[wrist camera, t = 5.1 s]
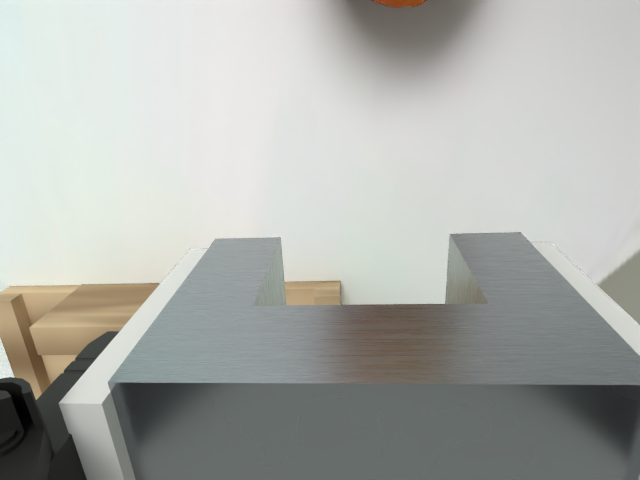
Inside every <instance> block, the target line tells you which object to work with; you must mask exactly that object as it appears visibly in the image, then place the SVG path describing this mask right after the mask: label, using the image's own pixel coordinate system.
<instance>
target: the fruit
mask: <svg viewBox="0 0 640 480" xmlns="http://www.w3.org/2000/svg"><path fill="white" fill-rule="evenodd" d="M372 1H375V2H378V3H380V4H383V5H387V6H391V7H396V8H398V7H406V6H418V5H421V4H422V3H424V2H425V1H427V0H372Z"/></svg>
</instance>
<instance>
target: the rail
mask: <svg viewBox="0 0 640 480" xmlns="http://www.w3.org/2000/svg"><path fill="white" fill-rule="evenodd" d="M159 284H160V283H149V284H89V285H70V286H10V287H9V288H7V289H5V290H4V291H2V292H1V293H0V337H1V340H2V343H3V346H4V349H5V351H6V354H7V357H8V360H9V362H10V365H11V368H12V371H13V374H14V376H15V378H22V379H24V380H26V381H27V382H28V383H30V385H31V388H32V391H33V393H34V396H35V399H36V400H37V399H38V398H39V397H40V396H41V394H42V393H43V392H44V391H45V390H46V389H47V388H48V387H49V386H50V385H51V384H52V383H53V381H54V380H55V379H56V378H57V377H58V376H59V375H60V374H61V373H64V369H65V368H66V367H67V366H68V365H69V364H70V363H71V362H72V361H75V358H76V356H77V355H78V354H79V353H80V352H81V351H82V350H83V349H84V348H85V347H86V346H87V345H88V344H89V343H90V342H92V341H93V340H95V339H96V338H98V337H100V336H101V335H103V334H104V333H106V332H107V331H120V330H121V329H122V328H123V327H124V326H125V324H126V323H127V322H128V321H129V320H130V319H131V317H132V316H133V315H134V314H135V313H136V312H137V310H138V309H139V308H140V307H141V306H142V304H143V303H144V302H145V301H146V300H147V299H148V297H149V296H150V295H151V294H152V293H153V292H154V290H155V289H156V288H157V287H158V286H159ZM285 294H286V305H341V292H340V281H312V282H285Z"/></svg>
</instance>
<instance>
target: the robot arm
mask: <svg viewBox="0 0 640 480" xmlns="http://www.w3.org/2000/svg"><path fill="white" fill-rule="evenodd" d="M530 243H531V244H532V245H533V246H534V247H535V248H536V249H537V250H538V251H539V252H540V253H541V254H542V255H543V256H544V257H545V258H546V259H547V260H548V261H549V262H550V264H551V265H552V266H553V267H554V268H555V269H556V270H557V271H558V272H559V273H560V274H561V275H562V276H563V277H564V278H565V279H566V280H567V281H568V282H569V283H570V284H571V285H572V286H573V287H574V288H575V289H576V290H577V292H578V293H579V294H580V295H581V296H582V297H583V298H584V299H585V300H586V301H587V302H588V303H589V304H590V305H591V306H592V307H593V308H594V309H595V310H596V311H597V312H598V313H599V314H600V315H601V316H602V317H603V318H604V320H605V321H606V322H607V323H608V324H609V325H610V326H611V327H612V328H613V329H614V330H615V331H616V332H617V333H618V334H619V335H620V336H621V337H622V338H623V339H624V340H625V341H626V342H627V343H628V344H629V345H630V346H631V347H632V349H633V350H634V351H635V352H636V353H637V354H638V355H639V356H640V325H639V324H638V323H637V322H636V321H635V320H634V319H633V318H632V317H631V316H629V315H628V314H627V313H626V312H625V311H624V310H623V309H622V308H621V307H620V306H619V305H618V304H617V303H615V302H614V301H613V300H612V299H611V298H610V297H609V296H608V295H607V294H606V293H605V292H604V291H603V290H602V289H601V288H599V287H598V286H597V285H596V284H595V283H594V282H593V281H592V280H591V279H590V278H589V277H588V276H587V275H586V274H584V273H583V272H582V271H581V270H580V269H579V268H578V267H577V266H576V265H575V264H574V263H573V262H572V261H571V260H569V259H568V258H567V257H566V256H565V255H564V254H563V253H562V252H561V251H560V250H559V249H558V248H557V247H556V246H554V245H553V244H552V243H551V242H530ZM207 250H208V248H206V249H189V250H188V252H187V253H186V254H185V255H184V256H183V257H182V259H181V260H180V261H179V262H178V263H177V264H176V266H175V267H174V268H173V269H172V270H171V272H170V273H169V274H168V275H167V276H166V277H165V279H164V280H163V281H162V282H161V283H160V284H159V286H158V287H157V288H156V289H155V290H154V292H153V293H152V294H151V295H150V296H149V297H148V299H147V300H146V301H145V302H144V303H143V304H142V306H141V307H140V308H139V309H138V310H137V312H136V313H135V314H134V315H133V316H132V317H131V319H130V320H129V321H128V322H127V323H126V324H125V326H124V327H123V328H122V329H121V330H120V331H107V332H106V333H104V334H103V335H101V336H100V337H98V338H96V339H95V340H93V341H92V342H90V343H89V344H88V345H87V346H86V347H85V348H84V349H83V350H82V351H81V352H80V353H79V354H78V355H77V356H76V358H75V361H72V362H71V363H70V364H69V365H68V366H67V367H66V368H65V369H64V373H61V374H60V375H59V376H58V377H57V378H56V379H55V380H54V381H53V383H52V384H51V385H50V386H49V387H48V388H47V389H46V390H45V391H44V392H43V393H42V394H41V396H40V397H39V398H38V399H37V400H36V399H35V396H34V393H33V391H32V388H31V385H30V383H28V382H27V381H26V380H24V379H22V378H12V377H9V378H3V379H0V480H136V479H135V476H134V472H133V469H132V465H131V462H130V458H129V455H128V451H127V448H126V444H125V440H124V437H123V433H122V430H121V426H120V423H119V419H118V416H117V412H116V409H115V405H114V402H113V398H112V394H111V391H110V389H109V386H108V381H109V380H110V378H111V377H112V376H113V375H114V373H115V372H116V371H117V369H118V368H119V367H120V365H121V364H122V363H123V361H124V360H125V359H126V357H127V356H128V355H129V353H130V352H131V351H132V349H133V348H134V347H135V345H136V344H137V343H138V341H139V340H140V339H141V337H142V336H143V335H144V333H145V332H146V331H147V329H148V328H149V327H150V325H151V324H152V323H153V321H154V320H155V319H156V317H157V316H158V315H159V313H160V312H161V311H162V309H163V308H164V307H165V305H166V304H167V303H168V301H169V300H170V299H171V297H172V296H173V295H174V293H175V292H176V291H177V289H178V288H179V287H180V285H181V284H182V283H183V282H184V280H185V279H186V278H187V276H188V275H189V274H190V272H191V271H192V270H193V268H194V267H195V266H196V264H197V263H198V262H199V260H200V259H201V258H202V256H203V255H204V254H205V252H206V251H207ZM638 480H640V475H639V478H638Z"/></svg>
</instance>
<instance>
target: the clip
mask: <svg viewBox="0 0 640 480" xmlns="http://www.w3.org/2000/svg"><path fill="white" fill-rule="evenodd" d="M108 386H109V389H110V391H111V394H112V398H113V402H114V405H115V409H116V412H117V416H118V419H119V423H120V426H121V430H122V433H123V437H124V440H125V444H126V448H127V451H128V455H129V458H130V462H131V465H132V469H133V472H134V476H135V479H136V480H638V478H639V475H640V356H639V355H638V354H637V353H636V352H635V351H634V350H633V349H632V347H631V346H630V345H629V344H628V343H627V342H626V341H625V340H624V339H623V338H622V337H621V336H620V335H619V334H618V333H617V332H616V331H615V330H614V329H613V328H612V327H611V326H610V325H609V324H608V323H607V322H606V321H605V320H604V318H603V317H602V316H601V315H600V314H599V313H598V312H597V311H596V310H595V309H594V308H593V307H592V306H591V305H590V304H589V303H588V302H587V301H586V300H585V299H584V298H583V297H582V296H581V295H580V294H579V293H578V292H577V290H576V289H575V288H574V287H573V286H572V285H571V284H570V283H569V282H568V281H567V280H566V279H565V278H564V277H563V276H562V275H561V274H560V273H559V272H558V271H557V270H556V269H555V268H554V267H553V266H552V265H551V264H550V262H549V261H548V260H547V259H546V258H545V257H544V256H543V255H542V254H541V253H540V252H539V251H538V250H537V249H536V248H535V247H534V246H533V245H532V244H531V243H530V242H529V241H528V240H527V239H526V238H525V237H524V236H523V235H522V233H521V232H514V233H467V234H450V238H449V254H448V269H447V285H446V300H445V304H393V305H286V294H285V282H284V271H283V260H282V249H281V237H280V238H233V239H215V240H214V242H213V243H212V244H211V246H210V247H209V248H208V250H207V251H206V252H205V254H204V255H203V256H202V258H201V259H200V260H199V262H198V263H197V264H196V266H195V267H194V268H193V270H192V271H191V272H190V274H189V275H188V276H187V278H186V279H185V280H184V282H183V283H182V284H181V285H180V287H179V288H178V289H177V291H176V292H175V293H174V295H173V296H172V297H171V299H170V300H169V301H168V303H167V304H166V305H165V307H164V308H163V309H162V311H161V312H160V313H159V315H158V316H157V317H156V319H155V320H154V321H153V323H152V324H151V325H150V327H149V328H148V329H147V331H146V332H145V333H144V335H143V336H142V337H141V339H140V340H139V341H138V343H137V344H136V345H135V347H134V348H133V349H132V351H131V352H130V353H129V355H128V356H127V357H126V359H125V360H124V361H123V363H122V364H121V365H120V367H119V368H118V369H117V371H116V372H115V373H114V375H113V376H112V377H111V378H110V380H109V381H108Z"/></svg>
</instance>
